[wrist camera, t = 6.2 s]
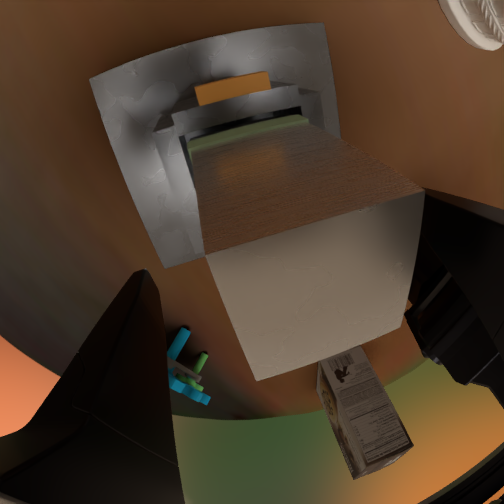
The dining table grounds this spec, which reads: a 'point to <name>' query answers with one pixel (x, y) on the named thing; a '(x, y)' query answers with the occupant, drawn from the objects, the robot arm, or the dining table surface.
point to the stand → (206, 114)
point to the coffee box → (360, 413)
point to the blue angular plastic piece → (185, 370)
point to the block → (303, 239)
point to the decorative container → (477, 21)
